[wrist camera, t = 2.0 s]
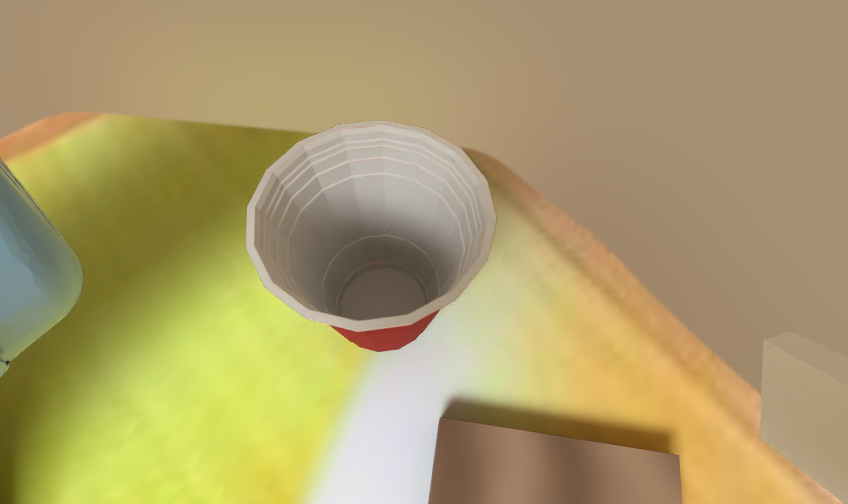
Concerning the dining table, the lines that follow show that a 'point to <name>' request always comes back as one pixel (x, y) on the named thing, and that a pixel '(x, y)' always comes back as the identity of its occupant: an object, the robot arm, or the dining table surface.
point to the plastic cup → (371, 229)
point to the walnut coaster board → (545, 469)
